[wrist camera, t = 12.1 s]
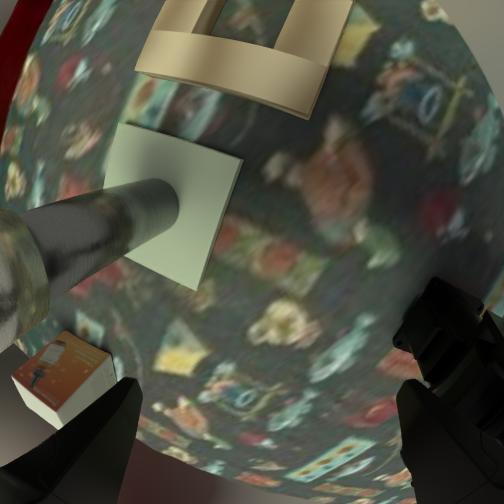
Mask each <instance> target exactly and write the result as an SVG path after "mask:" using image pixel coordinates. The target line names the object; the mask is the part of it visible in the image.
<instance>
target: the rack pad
mask: <svg viewBox="0 0 504 504" xmlns="http://www.w3.org/2000/svg"><path fill="white" fill-rule="evenodd" d="M243 161H244V160H242V159H240V158H237V157H234V156H231V155H228V154H226V153H223V152H220V151H217V150H214V149H211V148H208V147H205V146H202V145H199V144H196V143H193V142H190V141H186V140H183V139H180V138H177V137H173V136H170V135H167V134H163V133H160V132H156V131H153V130H149V129H146V128H142V127H138V126H135V125H131V124H127V123H119V124H118V127H117V131H116V135H115V138H114V142H113V146H112V150H111V154H110V159H109V163H108V167H107V172H106V177H105V182H104V187H103V189H105V188H109V187H113V186H118V185H122V184H126V183H131V182H136V181H140V180H145V179H150V178H158V179H162V180H164V181H166V182H167V183H169V184H170V185H171V186H172V188H173V189H174V190H175V192H176V194H177V197H178V200H179V215H178V218H177V221H176V222H175V224H174V225H173V226H172V227H171V228H170V229H169V230H167V231H165V232H163V233H162V234H160V235H158V236H156V237H155V238H153V239H151V240H149V241H148V242H146V243H144V244H143V245H141V246H139V247H137V248H136V249H134V250H132V251H131V252H129V253H127V254H126V255H124V256H126V257H128V258H130V259H132V260H134V261H136V262H138V263H140V264H141V265H143V266H145V267H147V268H149V269H151V270H153V271H155V272H158V273H160V274H162V275H164V276H166V277H168V278H170V279H172V280H174V281H176V282H178V283H180V284H182V285H184V286H187V287H189V288H191V289H193V290H195V291H197V290H198V288H199V287H200V286H201V284H202V281H203V278H204V275H205V271H206V268H207V265H208V262H209V259H210V256H211V253H212V250H213V247H214V244H215V241H216V238H217V235H218V232H219V229H220V226H221V223H222V220H223V217H224V214H225V212H226V209H227V206H228V203H229V200H230V197H231V194H232V192H233V189H234V186H235V183H236V180H237V178H238V175H239V172H240V169H241V167H242V164H243Z"/></svg>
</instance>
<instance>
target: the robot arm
mask: <svg viewBox="0 0 504 504" xmlns="http://www.w3.org/2000/svg"><path fill="white" fill-rule="evenodd" d="M437 282H438V285H437V286H434V285H435V283H437ZM479 306H480V307H479ZM478 307H479V308H478ZM483 309H484V304H483V303H482V302H481V301H480V300H478V299H477V298H475V297H473V296H471V295H470V294H468V293H466V292H464V291H462V290H461V289H459V288H457V287H455V286H453V285H452V284H450V283H448V282H446V281H444V280H442V279H441V278H439V277H434V278H433V279H432V280H431V281H430V283H429V285H428V286H427V288H426V290H425V291H424V293H423V295H422V296H421V298H420V299H419V300H418V301H417V303H416V304H415V306H414V307H413V309H412V311H411V312H410V314H409V315H408V317H407V318H406V320H405V321H404V323H403V324H402V327H401V329H400V330H399V332H398V333H397V334H396V336H395V337H394V339H393V345H394V347H396V348H398V349H401V350H403V351H406V352H409V353H412V354H413V357H414V359H415V360H417V363H418V365H419V368H420V371H421V373H422V376H423V379H424V381H426V382H428V384H429V386H430V388H429V389H428V388H427V387H426V386H424V385H423V384H422V383H421V382H419V381H418V380H416V379H409V380H405V381H404V383H403V384H402V386H401V388H400V390H399V392H398V394H397V396H396V402H397V408H398V414H399V421H400V427H401V436H402V444H403V445H402V450H401V451H400V455H401V458H402V460H403V462H404V464H405V466H406V467H407V469H408V470H409V472H410V473H411V476H412V482H411V486H412V487H414V491H415V496H416V501H417V504H504V319H503V318H501V317H500V316H498V315H496V314H494V313H493V312H491V311H489V310H486V311H485V313H484V315H483V316H482V317H483V319H481V318H480V317H479V316H480V314H481V313H482V311H483ZM398 341H400V342H399V343H397V342H398ZM142 400H143V394H142V391H141V388H140V385H139V383H138V380H137V379H136V378H132V377H124V378H122V379H121V380H120V381H119V382H117V383H116V384H115V385H114V386H112V387H111V388H110V389H109V390H108V391H106V392H105V393H104V394H103V395H101V396H100V397H99V398H98V399H96V400H95V401H94V402H93V403H92V404H90V405H89V406H88V407H87V408H85V409H84V410H83V411H82V412H80V413H79V414H78V415H77V416H75V417H74V418H73V419H72V420H70V421H69V422H68V423H67V424H65V425H64V426H63V427H62V428H60V429H59V430H58V431H56V432H55V434H53V435H51V436H50V437H49V438H48V439H46V440H45V441H43V442H42V443H41V444H39V445H38V446H37V447H35V448H34V449H32V450H30V451H29V452H27V453H25V454H24V455H22V456H20V457H19V458H17V459H15V460H13V461H12V462H10V463H8V464H6V465H4V466H2V467H0V504H117V501H118V497H119V493H120V490H121V486H122V482H123V479H124V475H125V471H126V468H127V464H128V461H129V458H130V454H131V451H132V447H133V444H134V441H135V437H136V432H137V427H138V421H139V416H140V410H141V405H142Z"/></svg>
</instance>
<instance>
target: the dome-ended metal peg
mask: <svg viewBox="0 0 504 504" xmlns="http://www.w3.org/2000/svg"><path fill="white" fill-rule="evenodd" d="M178 215H179V200H178V197H177V194H176V192H175V190H174V189H173V188H172V186H171V185H170V184H169V183H167V182H166V181H164V180H162V179H158V178H150V179H145V180H140V181H136V182H131V183H126V184H122V185H118V186H113V187H109V188H105V189H101V190H97V191H93V192H89V193H85V194H82V195H78V196H74V197H71V198H67V199H64V200H60V201H57V202H53V203H50V204H47V205H44V206H40V207H37V208H34V209H31V210H28V211H25V212H22V213H19V214H17V213H15V212H14V211H13V210H11V209H7V208H4V209H1V210H0V353H1V352H2V351H3V350H5V349H6V348H7V347H8V346H9V345H11V344H12V343H13V342H15V341H16V340H17V339H19V338H20V337H21V336H22V335H24V334H25V333H26V332H28V331H29V330H30V329H32V328H33V327H34V326H36V325H37V324H38V323H40V322H41V321H42V320H44V319H45V318H46V317H47V315H48V313H49V309H50V303H51V302H52V301H54V300H55V299H57V298H58V297H60V296H61V295H63V294H64V293H66V292H67V291H69V290H70V289H72V288H73V287H75V286H76V285H78V284H79V283H81V282H82V281H84V280H85V279H87V278H89V277H90V276H92V275H93V274H95V273H96V272H98V271H100V270H101V269H103V268H104V267H106V266H108V265H109V264H111V263H113V262H114V261H116V260H117V259H119V258H121V257H122V256H124V255H126V254H127V253H129V252H131V251H132V250H134V249H136V248H137V247H139V246H141V245H143V244H144V243H146V242H148V241H149V240H151V239H153V238H155V237H156V236H158V235H160V234H162V233H163V232H165V231H167V230H169V229H170V228H171V227H172V226H173V225H174V224H175V222H176V221H177V218H178Z"/></svg>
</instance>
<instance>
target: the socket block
mask: <svg viewBox="0 0 504 504" xmlns="http://www.w3.org/2000/svg"><path fill="white" fill-rule="evenodd" d="M292 1H295V2H294V4H293V6H292V8H291V11H290V13H289V15H288V17H287V19H286V21H285V24H284V26H283V28H282V30H281V33H280V35H279V37H278V39H277V42H276V44H275V46H274V48H273V49H270V48H266V47H262V46H258V45H254V44H250V43H245V42H241V41H236V40H231V39H225V38H220V37H214V36H209V35H210V33H211V31H212V28H213V26H214V24H215V22H216V20H217V18H218V16H219V14H220V12H221V10H222V8H223V6H224V4H225V2H226V0H166V2H165V4H164V5H163V7H162V9H161V11H160V13H159V15H158V17H157V19H156V21H155V23H154V25H153V27H152V30H151V32H150V34H149V36H148V38H147V41H146V43H145V45H144V47H143V50H142V52H141V55H140V57H139V59H138V62H137V64H136V67H135V70H134V71H137V72H140V73H142V74H145V75H147V76H150V77H153V78H159V79H164V80H170V81H175V82H180V83H185V84H189V85H194V86H198V87H203V88H207V89H211V90H215V91H219V92H223V93H226V94H230V95H234V96H237V97H241V98H244V99H247V100H251V101H254V102H257V103H260V104H263V105H266V106H270V107H272V108H275V109H278V110H281V111H284V112H287V113H290V114H292V115H295V116H298V117H300V118H303V119H306V120H308V121H309V118H310V116H311V113H312V111H313V108H314V106H315V103H316V101H317V98H318V95H319V93H320V90H321V88H322V85H323V83H324V80H325V78H326V75H327V73H328V70H329V68H330V65H331V62H332V60H333V57H334V55H335V52H336V50H337V47H338V45H339V42H340V39H341V37H342V34H343V32H344V29H345V27H346V24H347V21H348V19H349V16H350V14H351V11H352V9H353V6H354V3H355V1H356V0H292Z"/></svg>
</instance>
